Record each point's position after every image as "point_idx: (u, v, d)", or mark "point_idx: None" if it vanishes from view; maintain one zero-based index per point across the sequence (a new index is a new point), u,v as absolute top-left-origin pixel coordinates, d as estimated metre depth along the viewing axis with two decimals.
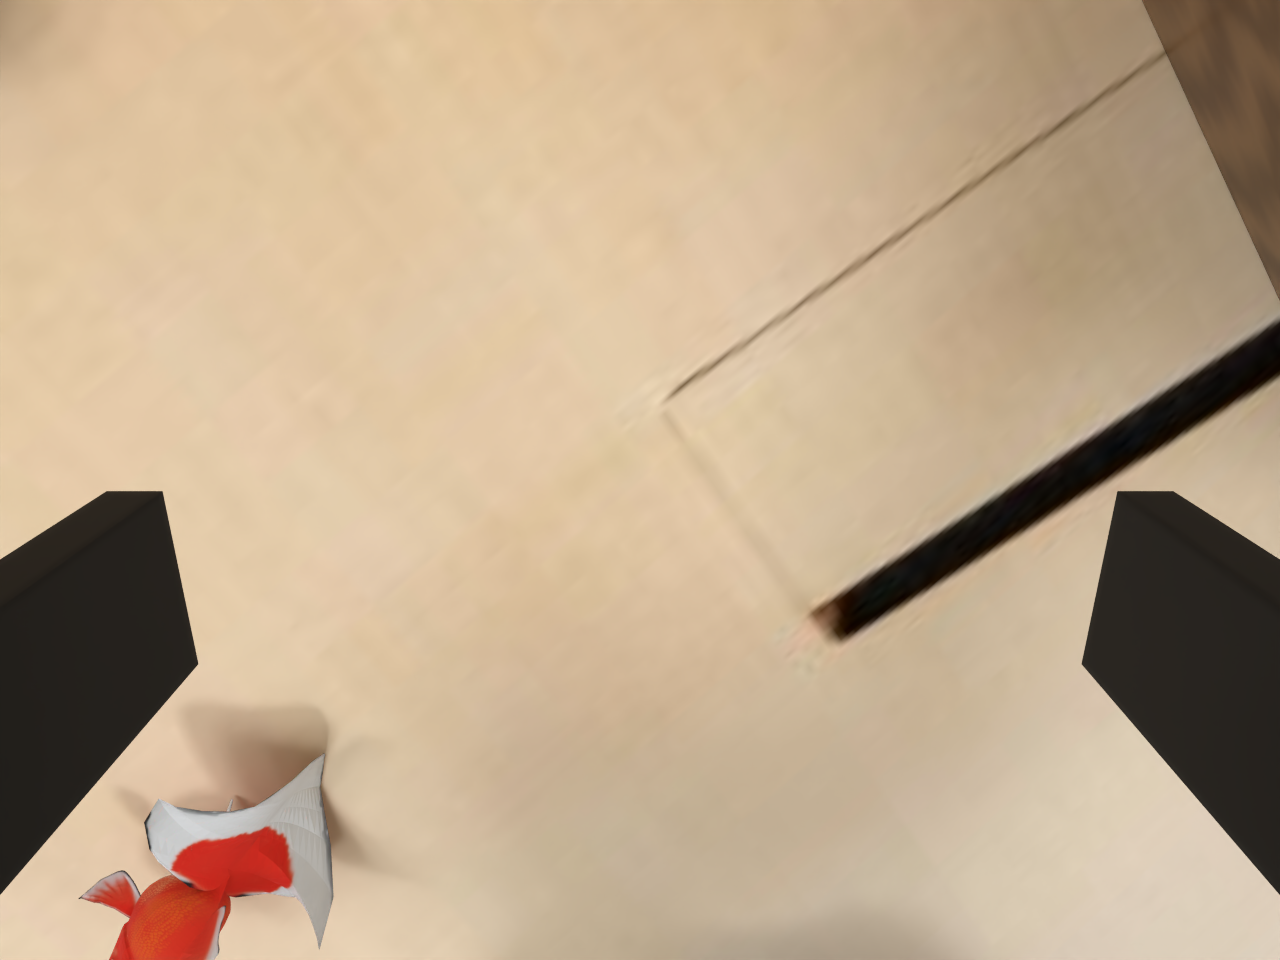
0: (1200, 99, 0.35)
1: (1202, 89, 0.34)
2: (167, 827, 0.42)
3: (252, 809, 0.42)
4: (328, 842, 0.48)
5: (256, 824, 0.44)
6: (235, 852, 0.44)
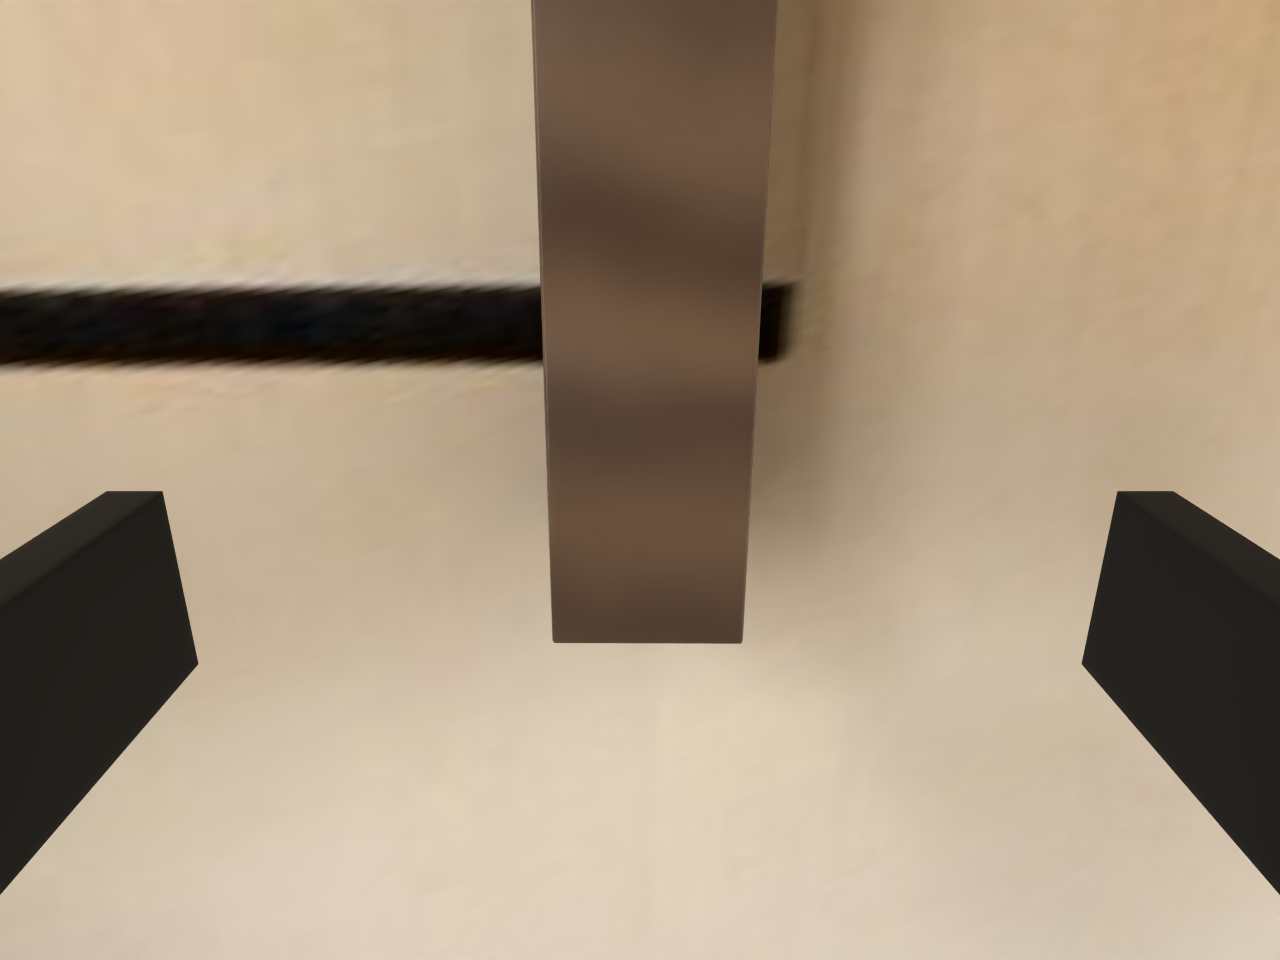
0: None
1: None
2: None
3: None
4: None
5: None
6: None
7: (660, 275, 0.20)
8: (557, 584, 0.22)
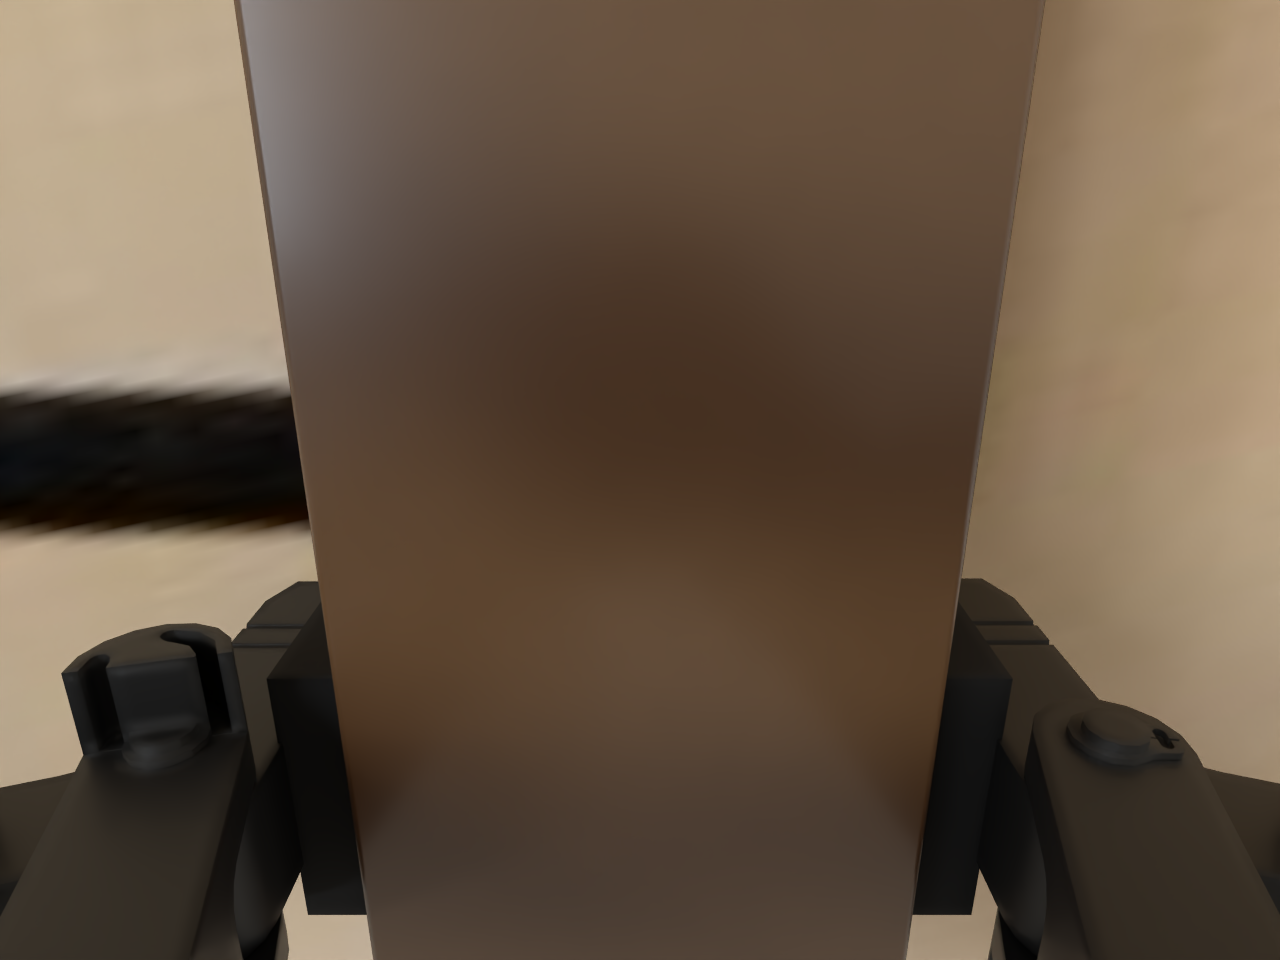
0: None
1: None
2: None
3: None
4: None
5: None
6: None
7: (665, 473, 0.06)
8: None
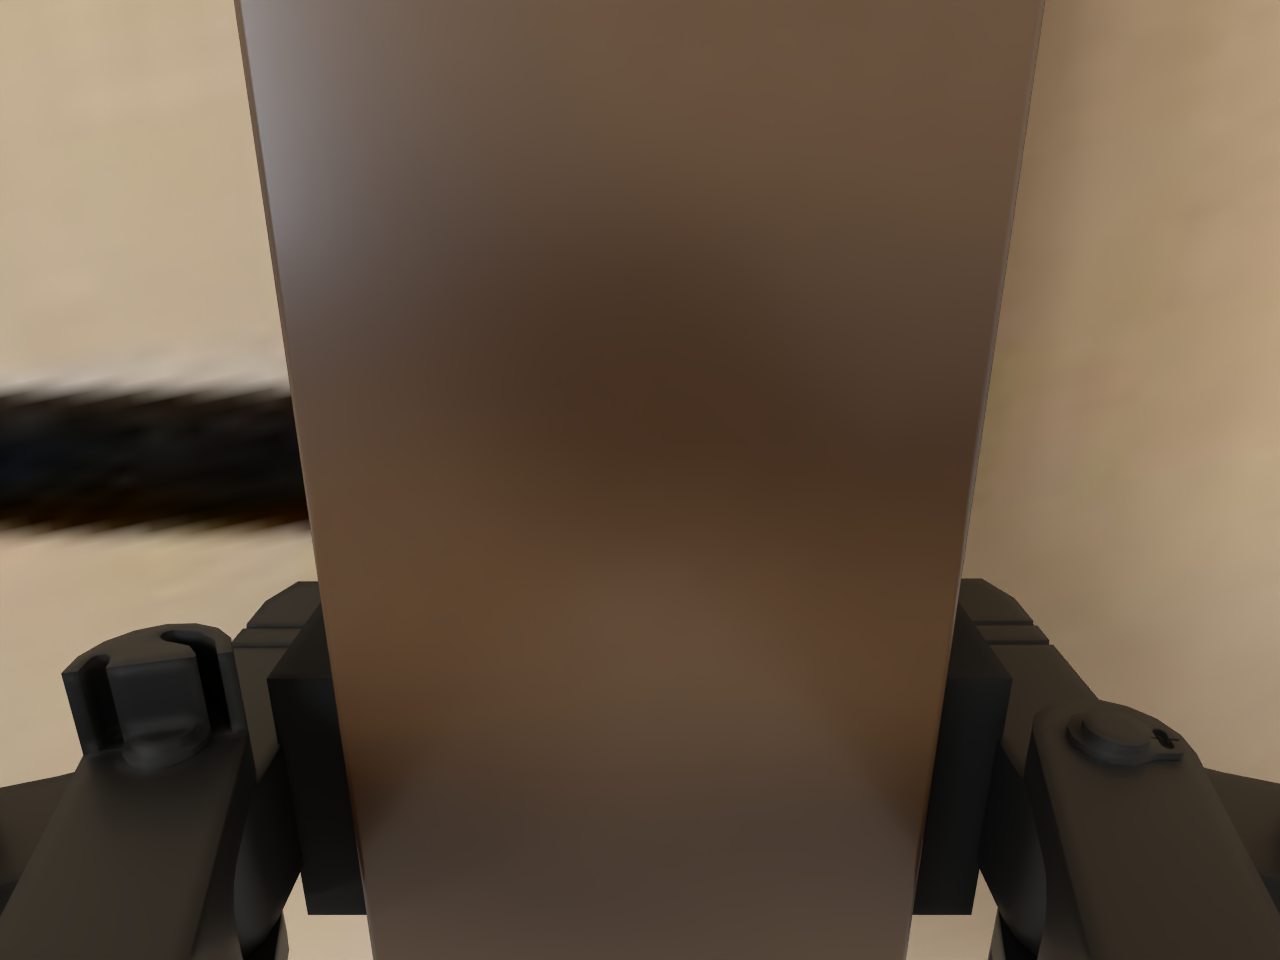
0: None
1: None
2: None
3: None
4: None
5: None
6: None
7: (665, 473, 0.06)
8: None
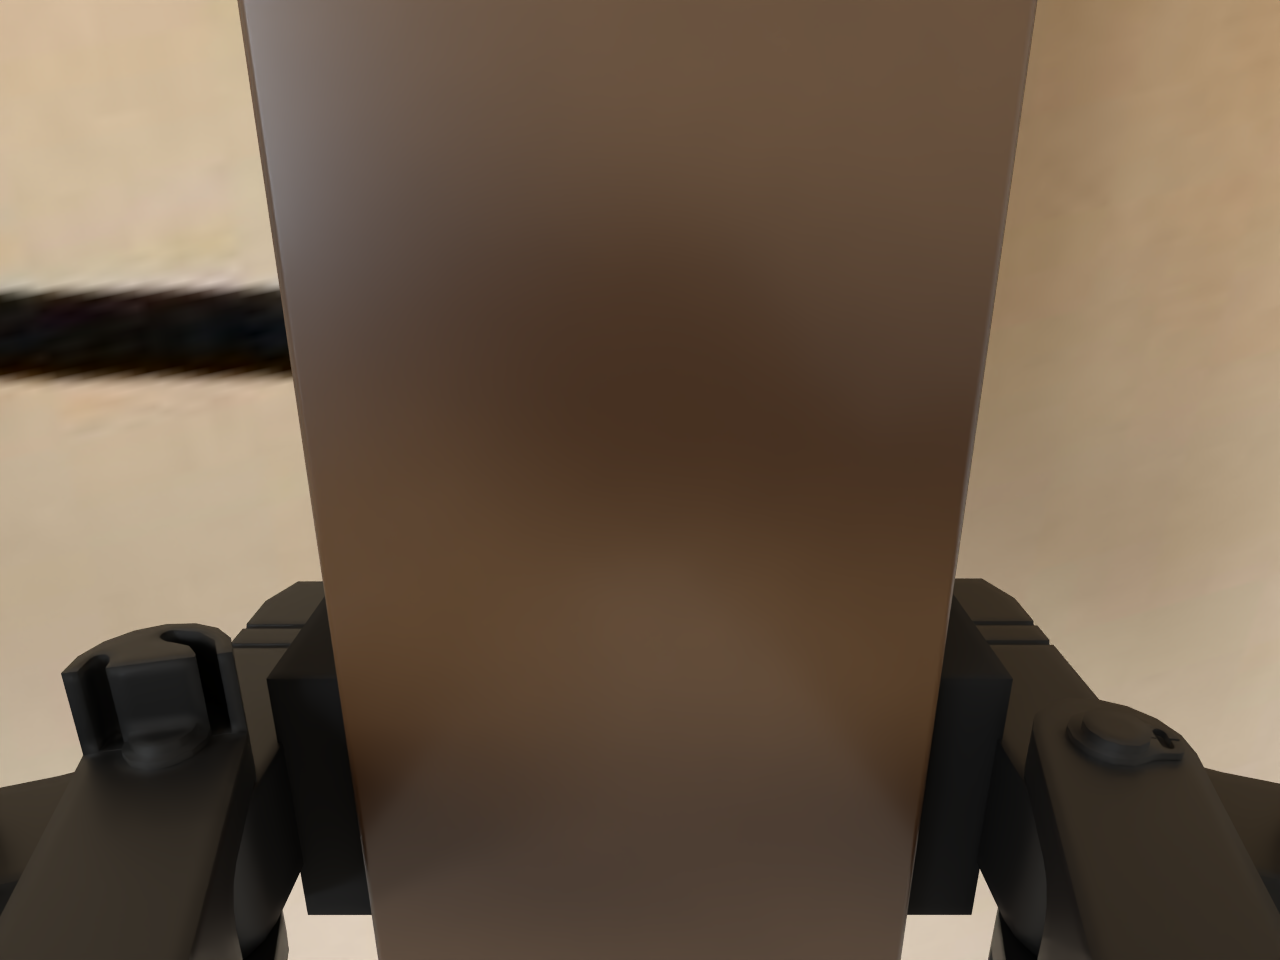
0: None
1: None
2: None
3: None
4: None
5: None
6: None
7: (665, 473, 0.07)
8: None
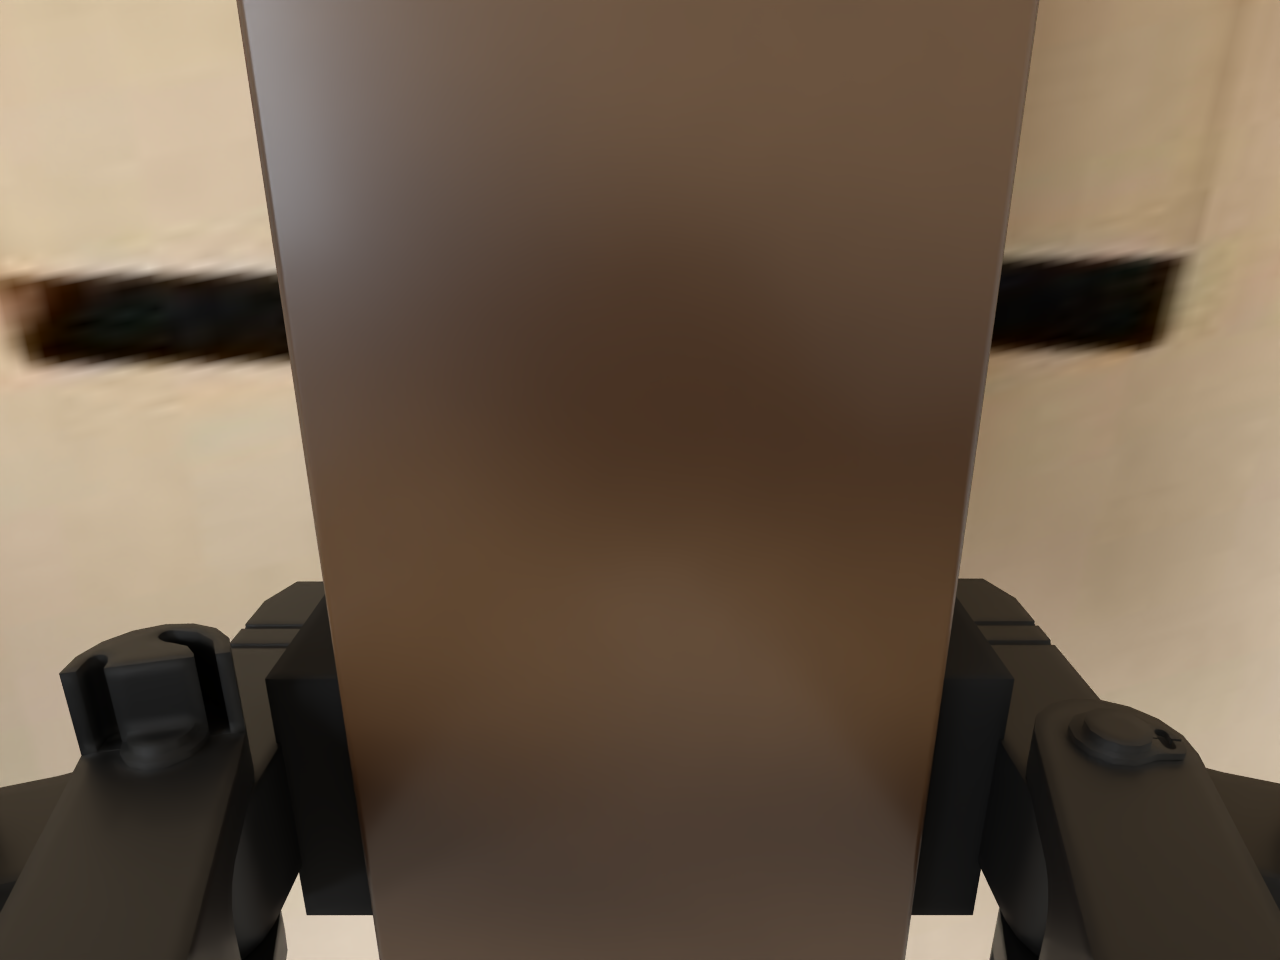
0: None
1: None
2: None
3: None
4: None
5: None
6: None
7: (665, 471, 0.06)
8: None
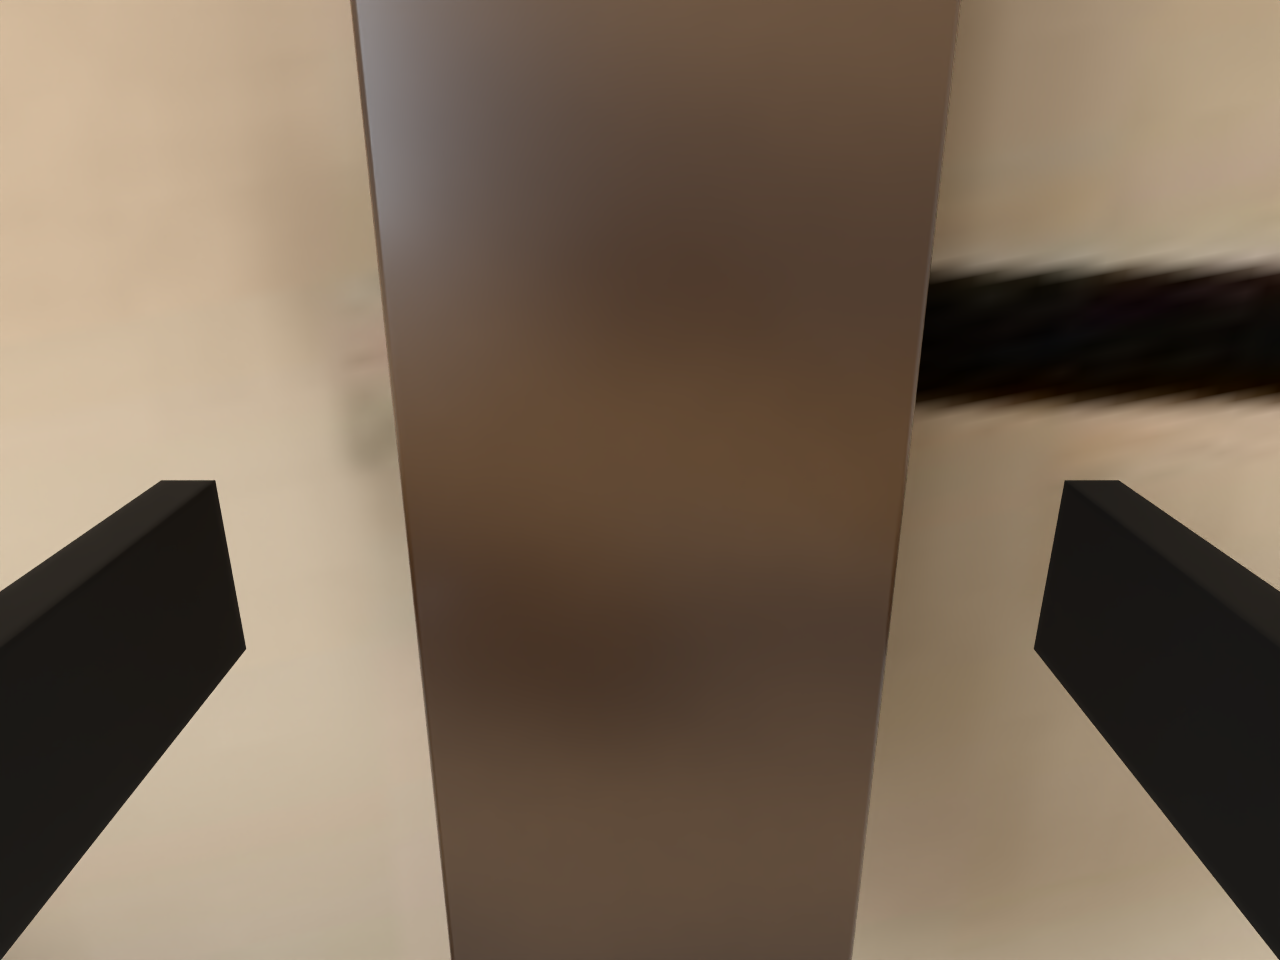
0: None
1: None
2: None
3: None
4: None
5: None
6: None
7: (675, 308, 0.08)
8: (462, 946, 0.11)
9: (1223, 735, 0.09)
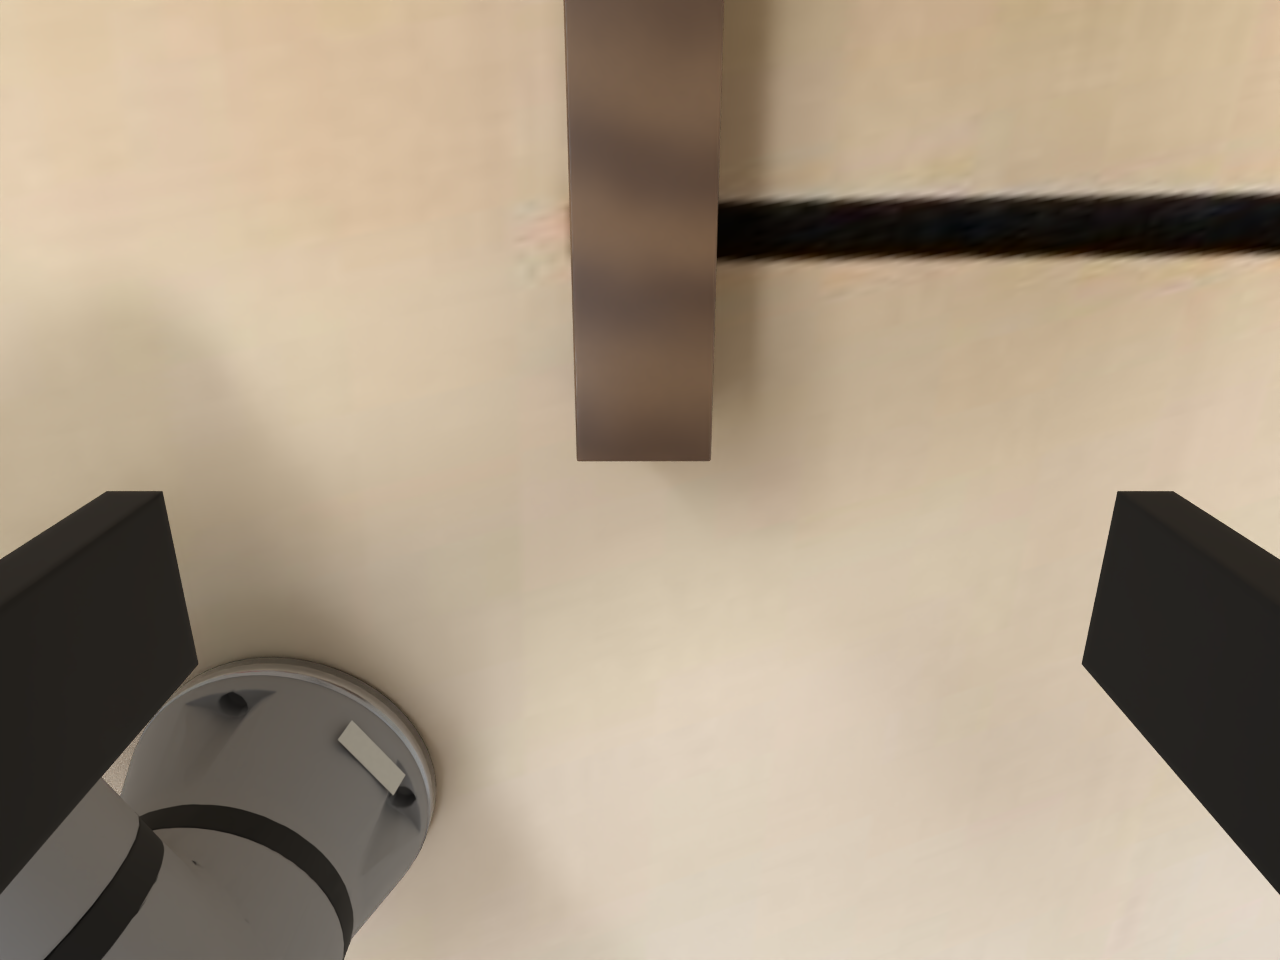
0: None
1: None
2: None
3: None
4: None
5: None
6: None
7: (649, 192, 0.29)
8: (580, 417, 0.32)
9: None
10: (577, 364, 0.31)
